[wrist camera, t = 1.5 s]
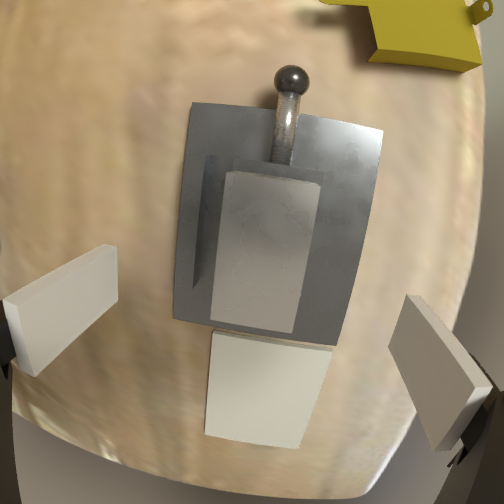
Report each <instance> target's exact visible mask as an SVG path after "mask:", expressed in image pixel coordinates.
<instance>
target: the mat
mask: <svg viewBox="0 0 504 504" xmlns="http://www.w3.org/2000/svg"><path fill="white" fill-rule="evenodd" d="M332 354H333V349H331V348H323V347H315V346H307V345H300V344H293V343H286V342H279V341H273V340H267V339H261V338H255V337H249V336H243V335H237V334H232V333H226V332H221V331H216V330H214V331H213V336H212V347H211V358H210V370H209V382H208V395H207V408H206V422H205V435H210V436H215V437H220V438H225V439H230V440H236V441H241V442H248V443H254V444H261V445H268V446H276V447H284V448H294V449H298V447H299V445H300V442H301V440H302V437H303V435H304V432H305V430H306V427H307V425H308V422H309V420H310V417H311V414H312V412H313V409H314V406H315V404H316V401H317V398H318V395H319V392H320V390H321V387H322V384H323V381H324V378H325V375H326V372H327V369H328V366H329V363H330V360H331V357H332Z"/></svg>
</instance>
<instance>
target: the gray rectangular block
mask: <svg viewBox="0 0 504 504" xmlns="http://www.w3.org/2000/svg"><path fill="white" fill-rule="evenodd" d="M320 188H321V187H320V186H319V185H318V184H316V183H313V182H307V181H301V180H295V179H289V178H283V177H276V176H270V175H263V174H256V173H249V172H241V171H231V172H226V179H225V187H224V195H223V203H222V211H221V220H220V229H219V238H218V247H217V256H216V265H215V275H214V285H213V295H212V306H211V317H210V320H215V321H221V322H226V323H231V324H237V325H242V326H248V327H254V328H260V329H266V330H272V331H279V332H285V333H292V331H293V326H294V322H295V317H296V313H297V308H298V304H299V299H300V294H301V289H302V285H303V280H304V275H305V270H306V265H307V260H308V255H309V250H310V244H311V239H312V234H313V228H314V223H315V217H316V212H317V206H318V200H319V194H320Z"/></svg>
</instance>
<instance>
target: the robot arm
mask: <svg viewBox="0 0 504 504" xmlns="http://www.w3.org/2000/svg"><path fill="white" fill-rule="evenodd" d="M117 301H118V272H117V246H112V245H107V244H103V245H101V246H99V247H97V248H95V249H93V250H91V251H89V252H87V253H85V254H83V255H81V256H79V257H77V258H75V259H74V260H72V261H70V262H68V263H66V264H64V265H62V266H60V267H59V268H57V269H55V270H53V271H51V272H49V273H48V274H46V275H44V276H42V277H40V278H39V279H37V280H35V281H33V282H31V283H30V284H28V285H26V286H24V287H23V288H21V289H19V290H18V291H16V292H14V293H12V294H11V295H9V296H7V297H6V298H4V299H2V300H1V301H0V504H22V503H21V498H20V492H19V486H18V480H17V474H16V465H15V455H14V445H13V428H12V373H13V369H12V365H11V362H10V361H11V360H12V359H13V358H14V357H16V358H17V361H18V364H19V367H20V370H22V371H23V372H25V373H27V374H29V375H31V376H33V377H36V376H37V375H38V374H39V373H40V372H41V371H42V370H43V369H44V368H45V367H46V366H47V365H48V364H50V363H51V362H52V361H53V360H54V359H55V358H56V357H57V356H58V355H59V354H60V353H61V352H62V351H63V350H64V349H65V348H66V347H68V346H69V345H70V344H71V343H72V342H73V341H74V340H75V339H76V338H77V337H78V336H79V335H80V334H82V333H83V332H84V331H85V330H86V329H87V328H88V327H89V326H90V325H91V324H93V323H94V322H95V321H96V320H97V319H98V318H99V317H100V316H101V315H103V314H104V313H105V312H106V311H107V310H108V309H109V308H110V307H112V306H113V305H114V304H115V303H116V302H117ZM388 347H389V350H390V352H391V354H392V356H393V358H394V360H395V362H396V365H397V367H398V369H399V371H400V373H401V376H402V378H403V380H404V382H405V385H406V387H407V389H408V392H409V394H410V396H411V399H412V401H413V403H414V406H415V408H416V410H417V413H418V415H419V417H420V420H421V422H422V425H423V427H424V430H425V433H426V435H427V437H428V440H429V443H430V446H431V448H432V451H433V452H438V451H446V450H451V449H452V448H453V446H454V445H455V444H456V442H457V441H458V439H459V438H461V440H462V442H463V444H464V445H463V447H462V448H461V449H460V451H459V452H458V453H457V454H456V456H455V457H454V458H453V459H452V460H451V462H450V463H449V464H448V465H447V467H450V466H451V465H452V464H453V466H452V468H451V470H450V472H449V474H448V477H447V479H446V481H445V483H444V485H443V487H442V490H441V491H440V493H439V495H438V497H437V499H436V500H435V502H434V504H504V391H502V392H500V391H499V389H498V387H497V386H496V385H495V383H494V382H493V381H492V379H491V378H490V377H489V375H488V374H487V373H485V370H484V369H483V367H482V366H480V363H479V362H478V361H477V360H476V359H475V357H474V356H472V355H471V354H470V353H469V352H467V351H466V350H465V349H464V347H463V346H462V345H461V344H460V342H459V341H458V340H457V339H456V337H455V336H454V335H453V334H452V332H451V331H450V330H449V329H448V328H447V326H446V325H445V324H444V323H443V322H442V320H441V319H440V318H439V317H438V316H437V314H436V313H435V312H434V311H433V310H432V309H431V307H430V306H429V305H428V304H427V303H426V302H425V301H424V299H423V298H422V297H421V296H416V295H409V294H406V297H405V300H404V304H403V307H402V310H401V313H400V316H399V318H398V321H397V324H396V327H395V330H394V333H393V335H392V338H391V341H390V343H389V346H388Z"/></svg>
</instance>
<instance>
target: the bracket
mask: <svg viewBox="0 0 504 504" xmlns="http://www.w3.org/2000/svg"><path fill="white" fill-rule="evenodd" d="M319 1H320V2H322V3H324V4H328V5H357V6H368V9H369V13H370V17H371V21H372V25H373V29H374V34H375V38H376V43H377V48H378V49H377V50H376V51H375V53H374V54H373V55H372V56H371V57H370V59H369V60H368V61H367V62H378V63H393V64H405V65H415V66H424V67H432V68H439V69H446V70H452V71H458V72H463V73H464V72H466V71H469V70H471V69H473V68H475V67H478V66H480V65H482V60H481V55H480V51H479V47H478V44H477V40H476V36H475V33H474V29H473V26H472V24H473V25H477V24H478V23H480V22H481V21H483V20H485V19H486V18H488V17H489V16H491V15H492V12H493V4H492V1H491V0H478V1H476V2H475V3H474V4H472V5H471V6H470V7H469V6H466V4H465V2H464V0H319ZM485 1H487V2H488V4H489V10H488V11H485V10H484V8H483V4H484V2H485Z"/></svg>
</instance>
